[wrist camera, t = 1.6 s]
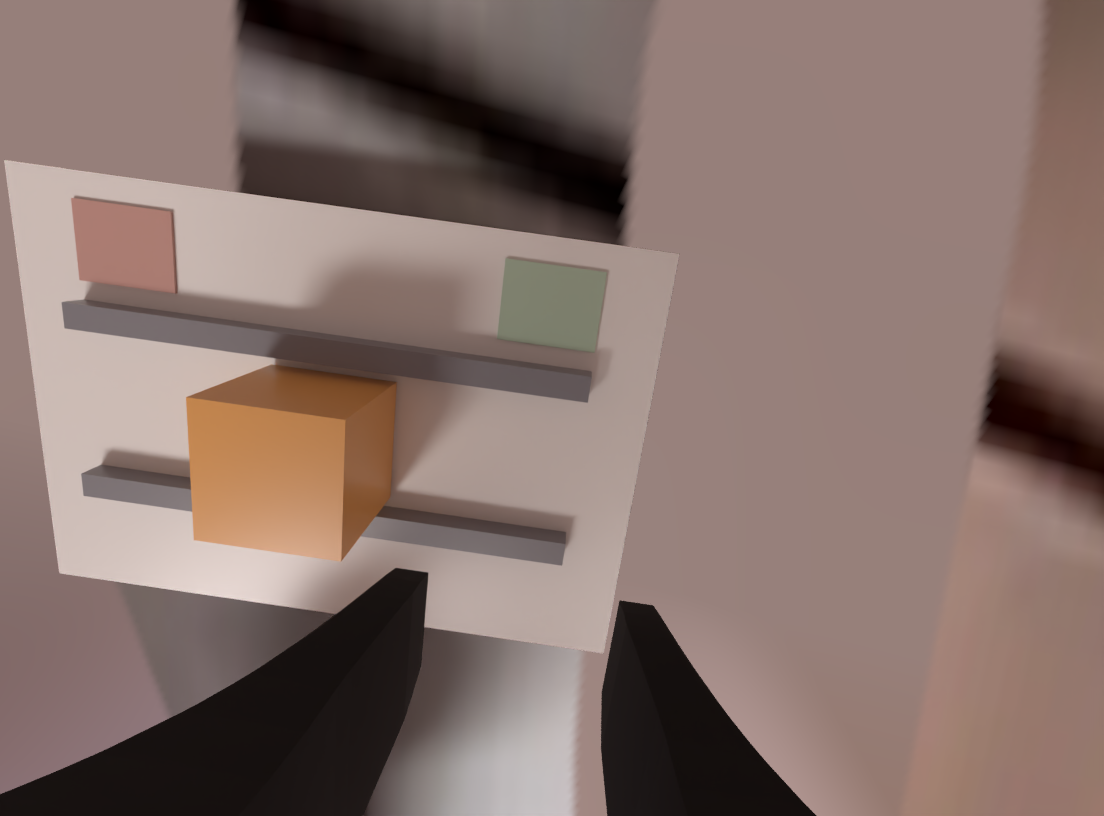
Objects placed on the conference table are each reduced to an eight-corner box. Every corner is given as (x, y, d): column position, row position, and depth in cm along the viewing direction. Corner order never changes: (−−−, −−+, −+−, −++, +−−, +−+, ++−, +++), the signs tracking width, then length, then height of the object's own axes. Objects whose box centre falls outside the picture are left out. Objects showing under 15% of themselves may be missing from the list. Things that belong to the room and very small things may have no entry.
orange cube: (390, 497, 19) (340, 561, 15) (272, 480, 19) (193, 540, 15) (396, 381, 18) (345, 420, 14) (271, 364, 18) (186, 397, 14)
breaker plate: (601, 618, 22) (604, 669, 19) (104, 545, 22) (38, 585, 20) (669, 252, 18) (684, 254, 15) (64, 168, 18) (-25, 155, 16)
